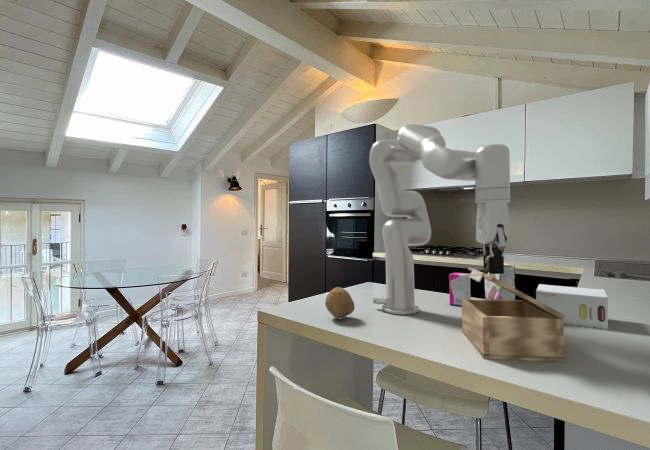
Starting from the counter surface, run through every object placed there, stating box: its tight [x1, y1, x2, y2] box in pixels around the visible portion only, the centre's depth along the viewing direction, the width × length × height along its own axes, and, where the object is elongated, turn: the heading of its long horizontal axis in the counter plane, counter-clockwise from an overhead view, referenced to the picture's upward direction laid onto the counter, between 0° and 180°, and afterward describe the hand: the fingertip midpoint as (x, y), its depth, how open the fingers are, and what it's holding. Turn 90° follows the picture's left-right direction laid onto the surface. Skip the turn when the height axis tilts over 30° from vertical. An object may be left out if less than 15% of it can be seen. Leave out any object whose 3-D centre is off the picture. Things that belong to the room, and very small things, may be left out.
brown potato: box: [324, 286, 355, 319], centre depth 105 cm, size 9×9×10 cm
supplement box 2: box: [535, 283, 609, 330], centre depth 100 cm, size 17×13×9 cm
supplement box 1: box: [448, 272, 472, 308], centre depth 120 cm, size 6×6×12 cm
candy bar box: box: [484, 262, 516, 300], centre depth 109 cm, size 11×5×16 cm, turn 179°
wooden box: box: [461, 298, 565, 363], centre depth 79 cm, size 16×18×9 cm
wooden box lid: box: [467, 255, 566, 319], centre depth 79 cm, size 17×18×8 cm
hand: (493, 271), depth 80 cm, fingers closed on wooden box lid, 3 cm apart
